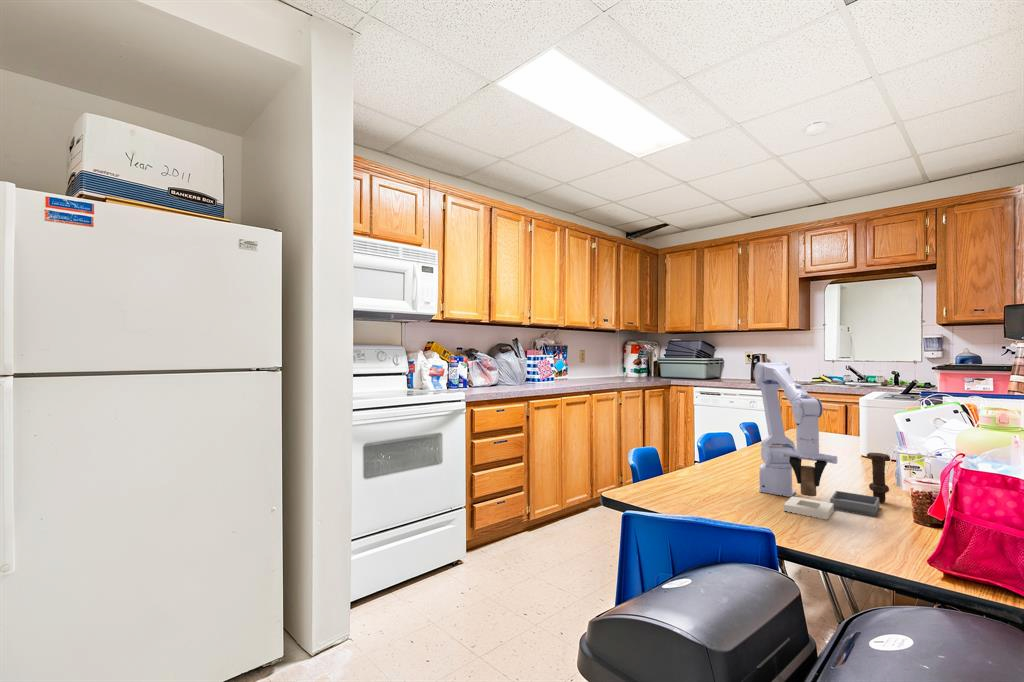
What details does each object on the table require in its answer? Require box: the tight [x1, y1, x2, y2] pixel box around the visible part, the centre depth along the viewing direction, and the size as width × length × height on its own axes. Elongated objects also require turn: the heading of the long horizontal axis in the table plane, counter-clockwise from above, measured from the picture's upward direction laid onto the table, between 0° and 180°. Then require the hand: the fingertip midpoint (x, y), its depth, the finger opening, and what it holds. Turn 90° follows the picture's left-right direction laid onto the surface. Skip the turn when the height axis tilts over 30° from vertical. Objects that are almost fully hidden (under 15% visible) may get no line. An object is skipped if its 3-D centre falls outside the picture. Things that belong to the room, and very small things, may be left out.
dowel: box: [800, 465, 817, 497], centre depth 143 cm, size 4×4×8 cm
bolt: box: [866, 452, 891, 504], centre depth 151 cm, size 6×5×15 cm
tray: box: [829, 490, 880, 517], centre depth 145 cm, size 11×11×3 cm
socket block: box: [783, 495, 835, 521], centre depth 143 cm, size 11×11×2 cm
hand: (808, 484), depth 143 cm, fingers closed on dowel, 4 cm apart
